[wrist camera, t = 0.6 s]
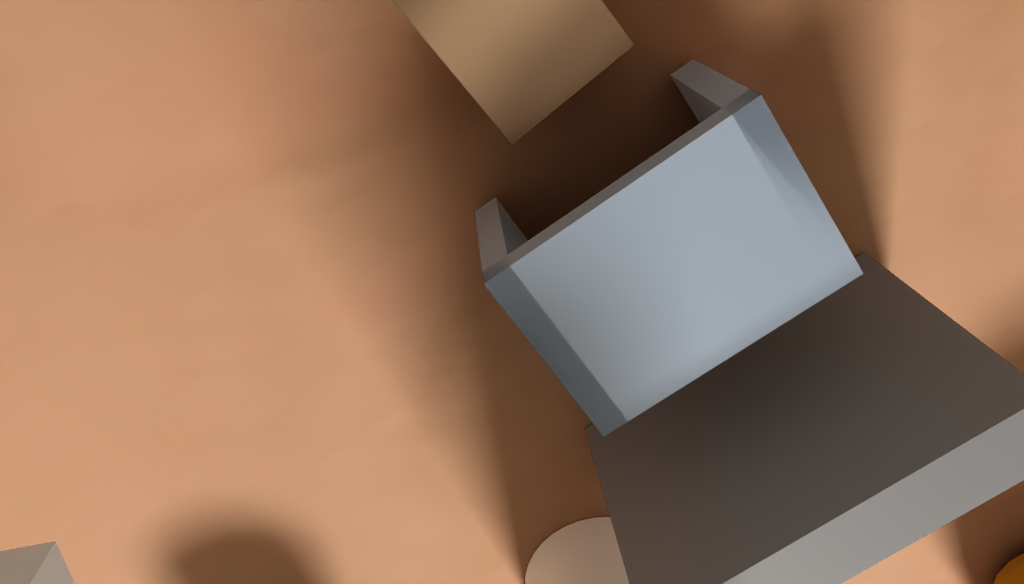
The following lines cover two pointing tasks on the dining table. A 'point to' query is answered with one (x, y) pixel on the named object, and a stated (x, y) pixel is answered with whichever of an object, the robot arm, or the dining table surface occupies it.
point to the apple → (1012, 572)
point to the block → (671, 258)
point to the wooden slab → (520, 51)
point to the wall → (816, 445)
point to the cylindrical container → (579, 556)
